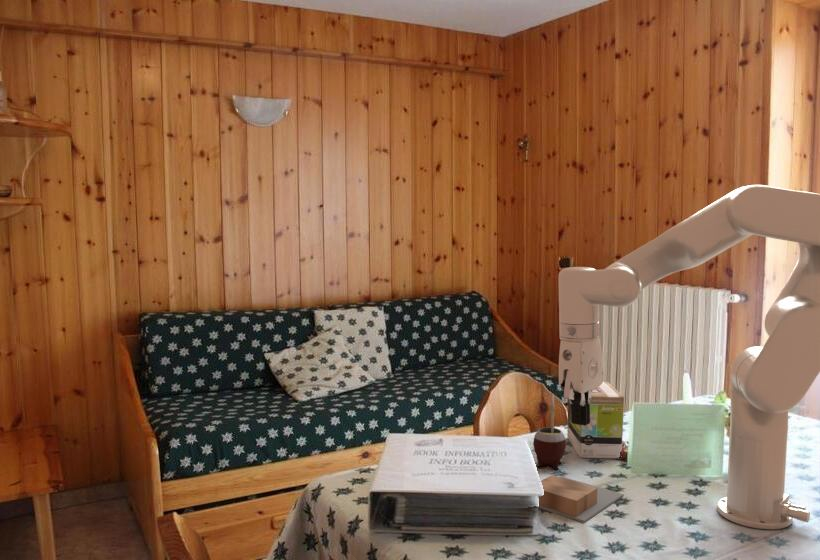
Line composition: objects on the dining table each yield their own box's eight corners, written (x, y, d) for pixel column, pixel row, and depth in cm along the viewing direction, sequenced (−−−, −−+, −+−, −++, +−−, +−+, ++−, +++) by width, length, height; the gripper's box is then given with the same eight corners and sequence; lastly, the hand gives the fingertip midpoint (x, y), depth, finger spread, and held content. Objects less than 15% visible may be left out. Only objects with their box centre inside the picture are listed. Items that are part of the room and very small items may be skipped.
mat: (623, 496, 140) (623, 494, 140) (584, 522, 128) (584, 520, 128) (561, 478, 150) (561, 476, 149) (519, 501, 138) (519, 499, 138)
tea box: (623, 459, 161) (625, 396, 159) (579, 459, 161) (580, 395, 160) (606, 437, 176) (608, 379, 174) (566, 437, 176) (567, 379, 174)
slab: (597, 488, 136) (576, 500, 130) (597, 503, 136) (576, 516, 130) (552, 474, 142) (530, 486, 136) (551, 489, 143) (530, 501, 137)
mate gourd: (545, 473, 152) (546, 405, 151) (524, 461, 159) (525, 397, 158) (573, 468, 155) (574, 401, 154) (551, 456, 162) (553, 393, 161)
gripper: (577, 338, 128) (579, 437, 130) (614, 327, 139) (615, 417, 141) (542, 335, 133) (544, 429, 135) (580, 324, 144) (581, 411, 146)
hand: (580, 423), depth 138 cm, fingers closed
